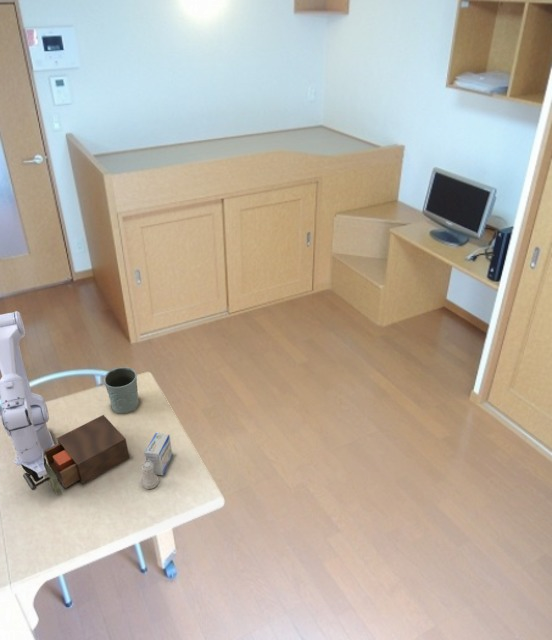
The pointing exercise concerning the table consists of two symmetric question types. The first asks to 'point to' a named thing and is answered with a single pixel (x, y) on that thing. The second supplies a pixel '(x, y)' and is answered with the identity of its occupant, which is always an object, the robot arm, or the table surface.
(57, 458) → the block
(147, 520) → the table surface
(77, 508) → the table surface
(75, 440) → the cabinet
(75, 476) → the drawer
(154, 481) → the rook chess piece
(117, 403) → the grey-green pot
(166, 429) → the table surface
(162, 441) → the medicine box
